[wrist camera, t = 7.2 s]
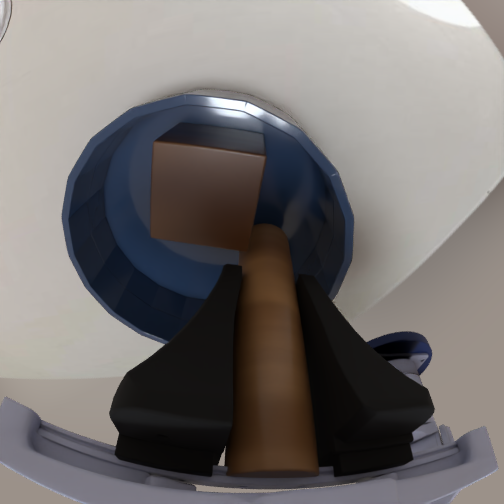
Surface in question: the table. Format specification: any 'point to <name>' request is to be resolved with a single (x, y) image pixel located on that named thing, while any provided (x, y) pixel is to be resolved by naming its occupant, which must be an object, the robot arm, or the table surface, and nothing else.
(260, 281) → the rod
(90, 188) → the bowl
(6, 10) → the chess piece
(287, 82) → the table surface
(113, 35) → the table surface
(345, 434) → the robot arm
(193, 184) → the block
